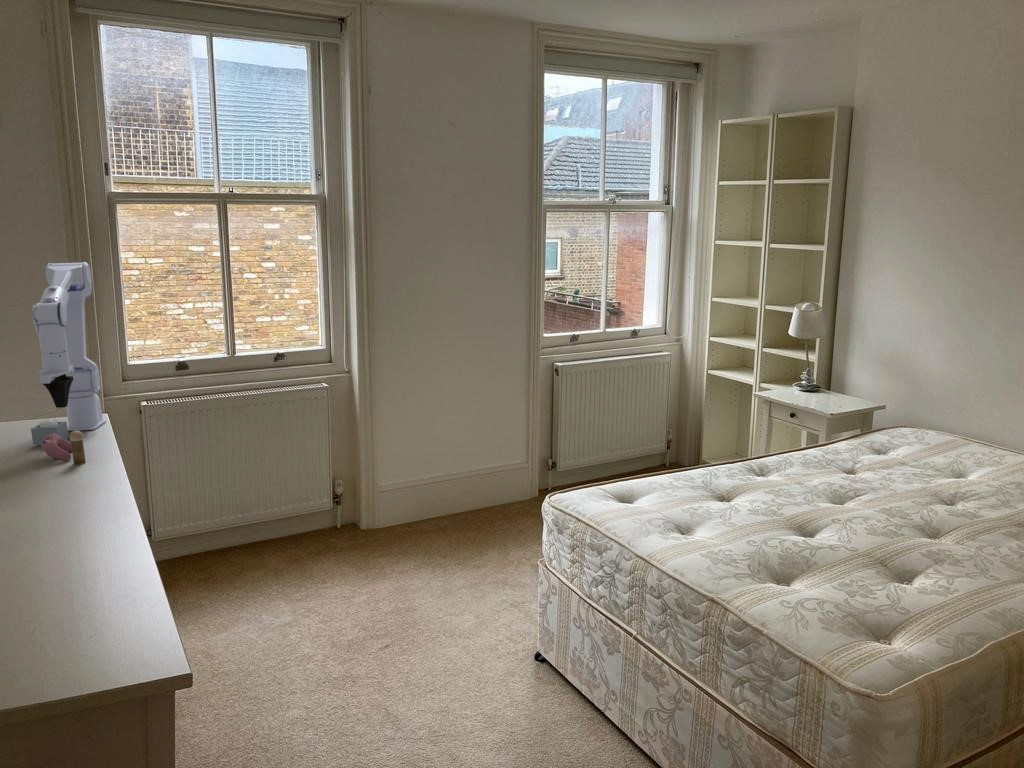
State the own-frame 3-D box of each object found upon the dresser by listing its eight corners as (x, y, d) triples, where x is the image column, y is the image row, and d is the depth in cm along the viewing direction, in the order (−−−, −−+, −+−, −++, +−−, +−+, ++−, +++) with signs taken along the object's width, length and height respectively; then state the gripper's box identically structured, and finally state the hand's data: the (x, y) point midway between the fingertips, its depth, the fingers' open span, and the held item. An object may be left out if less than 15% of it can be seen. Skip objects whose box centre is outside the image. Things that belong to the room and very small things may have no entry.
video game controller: (59, 458, 198) (41, 435, 196) (77, 448, 199) (59, 424, 197) (53, 470, 189) (34, 445, 187) (72, 459, 190) (53, 434, 188)
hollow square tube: (43, 439, 210) (41, 422, 209) (68, 438, 211) (66, 421, 210) (33, 446, 204) (30, 428, 203) (58, 444, 205) (56, 427, 204)
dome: (45, 433, 209) (43, 418, 208) (62, 432, 209) (59, 417, 208) (38, 437, 205) (36, 421, 204) (55, 436, 205) (53, 421, 204)
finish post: (75, 461, 190) (71, 429, 189) (88, 460, 190) (84, 428, 189) (70, 465, 187) (66, 432, 186) (83, 464, 188) (79, 432, 186)
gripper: (49, 348, 205) (57, 401, 208) (23, 357, 191) (31, 414, 194) (79, 346, 206) (86, 399, 209) (55, 356, 192) (62, 413, 195)
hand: (61, 407), depth 202 cm, fingers closed
